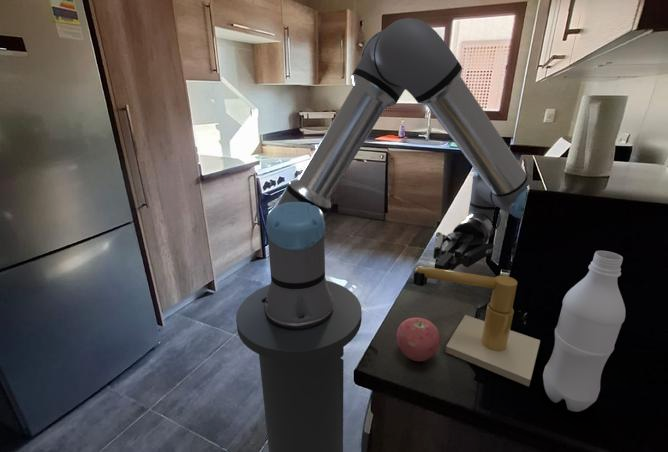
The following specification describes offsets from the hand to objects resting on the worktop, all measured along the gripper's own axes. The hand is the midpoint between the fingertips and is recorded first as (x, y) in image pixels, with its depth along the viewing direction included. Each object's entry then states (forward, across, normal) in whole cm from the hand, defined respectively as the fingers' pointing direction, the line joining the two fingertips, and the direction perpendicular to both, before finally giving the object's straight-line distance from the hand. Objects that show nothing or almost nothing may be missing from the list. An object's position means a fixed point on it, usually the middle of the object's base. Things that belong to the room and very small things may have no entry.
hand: (438, 271), depth 65 cm
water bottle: (+4, -23, -14) cm, 28 cm away
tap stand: (-2, -11, -14) cm, 18 cm away
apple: (+8, 0, -14) cm, 16 cm away
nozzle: (0, -5, -4) cm, 6 cm away
